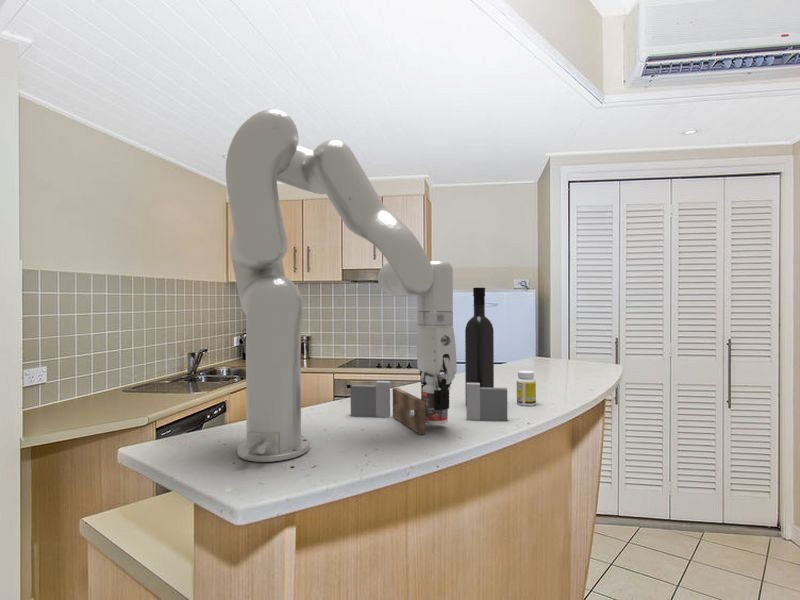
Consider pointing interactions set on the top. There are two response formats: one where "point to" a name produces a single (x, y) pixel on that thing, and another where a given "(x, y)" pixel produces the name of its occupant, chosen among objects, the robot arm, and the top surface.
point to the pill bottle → (432, 403)
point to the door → (409, 410)
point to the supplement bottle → (526, 388)
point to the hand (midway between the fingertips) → (434, 405)
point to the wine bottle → (479, 345)
